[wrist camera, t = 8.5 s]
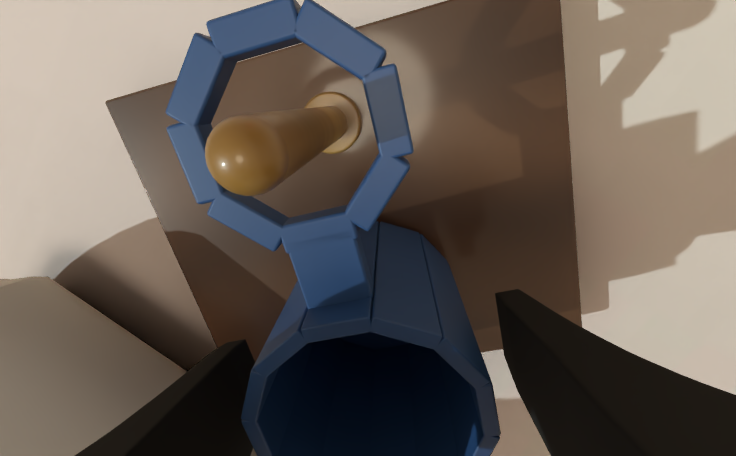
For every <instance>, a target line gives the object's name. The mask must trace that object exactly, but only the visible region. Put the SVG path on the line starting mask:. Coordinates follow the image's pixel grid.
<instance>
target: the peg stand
mask: <svg viewBox="0 0 736 456" xmlns="http://www.w3.org/2000/svg"><path fill="white" fill-rule="evenodd" d="M355 29H356V30H358V31H359V32H361V33H362V34H364V35H365V36H367V37H368V38H370V39H371V40H373V41H374V42H376V43H377V44H379V45H381V46H382V47H384V48H385V50H386V59H385V60H384V62H383V64H382V66H385V65H388V64H395V65H396V66H397V70H398V75H399V80H400V85H401V90H402V95H403V100H404V105H405V110H406V114H407V119H408V124H409V129H410V134H411V139H412V144H413V149H414V151H413V153H412V154H409V155H405V156H403V157H404V158H406V159H407V160H408V161H409V163H410V169H409V171H408V173H407V174H406V176H405V177H404V179H403V180H402V182H401V183H400V185H399V186H398V188H397V190H396V191H395V193H394V194H393V196H392V197H391V199H390V200H389V202H388V203H387V205H386V207H385V208H384V210H383V211H382V213H381V214H380V216H379V217H378V219H377V220H376V221H378V222H379V223H380V222H381V221H382V222H385V223H388V224H392V225H395V226H399V227H402V228H406V229H409V230H413V231H416V232H419V235H420V234H422V235H423V236H424V237H425V238H426V239H427V240H428V241H429V242H430V243H431V244H432V245H433V246H434V247H435V248H436V249H437V250H438V251H439V253H440V254H441V255H442V256H443V257H444V258H445V259H446V260H447V262H448V263H449V266H450V269H451V271H452V274H453V277H454V280H455V282H456V285H457V288H458V291H459V294H460V296H461V299H462V302H463V305H464V307H465V310H466V313H467V316H468V318H469V321H470V324H471V327H472V329H473V332H474V335H475V338H476V341H477V343H478V346H479V349H480V352H486V351H493V350H499V349H503V343H502V337H501V330H500V324H499V317H498V311H497V304H496V298H495V293H498V292H504V291H509V290H515V289H519V290H521V291H523V292H524V293H526V294H527V295H529V296H531V297H532V298H534V299H535V300H537V301H538V302H540V303H542V304H543V305H545V306H546V307H548V308H550V309H551V310H553V311H554V312H556V313H558V314H559V315H561V316H563V317H564V318H566V319H568V320H570V321H571V322H573V323H575V324H576V325H578V326H580V327H582V321H581V306H580V291H579V276H578V261H577V246H576V231H575V216H574V201H573V186H572V170H571V155H570V140H569V125H568V110H567V95H566V80H565V65H564V50H563V35H562V20H561V5H560V0H447V1H444V2H440V3H437V4H434V5H430V6H427V7H423V8H420V9H417V10H413V11H410V12H407V13H403V14H400V15H396V16H393V17H390V18H386V19H383V20H379V21H376V22H373V23H369V24H366V25H362V26H359V27H356V28H355ZM176 81H177V80H175V81H172V82H169V83H165V84H162V85H158V86H155V87H152V88H148V89H145V90H141V91H138V92H135V93H131V94H128V95H124V96H121V97H118V98H114V99H111V100H107V101H106V105H107V107H108V109H109V112H110V114H111V116H112V118H113V120H114V123H115V125H116V127H117V129H118V131H119V133H120V136H121V138H122V140H123V142H124V144H125V147H126V149H127V151H128V153H129V155H130V158H131V160H132V162H133V164H134V166H135V168H136V171H137V173H138V175H139V177H140V179H141V182H142V184H143V186H144V188H145V190H146V193H147V195H148V197H149V199H150V201H151V203H152V206H153V208H154V210H155V212H156V214H157V217H158V219H159V221H160V223H161V225H162V228H163V230H164V232H165V234H166V236H167V238H168V241H169V243H170V245H171V247H172V249H173V252H174V254H175V256H176V258H177V260H178V263H179V265H180V267H181V269H182V271H183V273H184V276H185V278H186V280H187V282H188V284H189V287H190V289H191V291H192V293H193V295H194V298H195V300H196V302H197V304H198V306H199V308H200V311H201V313H202V315H203V317H204V319H205V322H206V324H207V326H208V328H209V330H210V332H211V335H212V337H213V339H214V341H215V343H216V346H217V348H219V347H220V346H222V345H223V344H225V343H227V342H232V341H237V340H243V339H246V342H247V344H248V346H249V349H250V351H251V354H252V356H253V358H254V361H255V362H256V360H257V358H258V356H259V354H260V352H261V351H262V349H263V347H264V345H265V343H266V341H267V339H268V337H269V335H270V333H271V331H272V329H273V327H274V325H275V323H276V321H277V319H278V317H279V315H280V314H281V312H282V310H283V308H284V306H285V304H286V302H287V300H288V298H289V296H290V294H291V292H292V290H293V288H294V286H295V284H296V282H297V280H298V279H297V276H296V273H295V270H294V267H293V264H292V261H291V259H290V256H289V254H288V253H286V251H285V249H284V246H283V243H282V244H281V245H280V246H279V248H278V249H277V250H276V251H271V250H269V249H267V248H266V247H264V246H262V245H260V244H258V243H257V242H255V241H253V240H251V239H249V238H247V237H246V236H244V235H242V234H240V233H238V232H237V231H235V230H233V229H231V228H229V227H228V226H226V225H224V224H222V223H220V222H219V221H217V220H215V219H213V218H211V217H210V216H208V215H207V212H208V209H209V207H210V205H211V203H212V202H210V203H205V204H198V203H197V202H196V200H195V197H194V195H193V193H192V190H191V188H190V185H189V183H188V181H187V178H186V176H185V173H184V171H183V169H182V166H181V164H180V161H179V159H178V156H177V154H176V152H175V149H174V147H173V144H172V142H171V140H170V137H169V135H168V132H167V127H168V126H169V125H172V124H176V123H180V122H179V121H177V120H175V119H173V118H172V117H170V116H168V115H167V114H166V108H167V106H168V103H169V100H170V98H171V95H172V92H173V89H174V87H175V84H176ZM211 125H212V128H213V130H212V131H211V133H210V135H209V136H208V139H207V142H206V146H205V159H206V164H207V167H208V169H209V171H210V173H211V175H212V176H213V178H214V179H215V180H216V181H217V182H218V183H219V184H220V185H221V186H222V187H223V188H225V189H227V190H228V191H230V192H232V193H235V194H238V195H243V196H252V197H254V198H256V199H257V200H259V201H261V202H263V203H264V204H266V205H268V206H270V207H271V208H273V209H275V210H277V211H278V212H280V213H282V214H284V215H285V216H287V217H289V218H291V217H295V216H299V215H304V214H308V213H313V212H317V211H321V210H326V209H330V208H335V207H339V206H343V205H348V203H349V201H350V200H351V198H352V196H353V195H354V193H355V191H356V190H357V188H358V187H359V185H360V183H361V182H362V180H363V178H364V177H365V175H366V173H367V172H368V170H369V168H370V167H371V165H372V163H373V162H374V160H375V158H376V157H377V155H378V153H379V150H378V146H377V141H376V137H375V133H374V129H373V124H372V120H371V116H370V112H369V107H368V103H367V99H366V95H365V91H364V86H363V82H362V80H360V79H359V78H357V77H356V76H354V75H353V74H351V73H350V72H348V71H346V70H345V69H343V68H342V67H340V66H339V65H337V64H336V63H334V62H332V61H331V60H329V59H328V58H326V57H325V56H323V55H322V54H320V53H318V52H317V51H315V50H314V49H312V48H311V47H309V46H308V45H306V44H305V43H301V44H298V45H294V46H291V47H288V48H284V49H281V50H277V51H274V52H271V53H267V54H264V55H260V56H257V57H254V58H250V59H247V60H243V61H240V62H237V63H236V65H235V68H234V70H233V72H232V75H231V77H230V80H229V82H228V84H227V87H226V89H225V91H224V94H223V96H222V99H221V101H220V103H219V106H218V108H217V110H216V113H215V115H214V117H213V120H212V122H211Z"/></svg>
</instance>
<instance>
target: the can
mask: <svg viewBox="0 0 736 456" xmlns="http://www.w3.org/2000/svg"><path fill="white" fill-rule="evenodd" d="M186 372H187V371H186V370H184V369H183V368H181V367H180V366H178V365H177V364H175V363H174V362H172V361H171V360H169V359H168V358H166V357H165V356H163V355H162V354H161V353H159V352H158V351H156V350H155V349H153V348H152V347H150V346H149V345H147V344H146V343H144V342H143V341H141V340H140V339H139V338H137V337H136V336H134V335H133V334H131V333H130V332H128V331H127V330H125V329H124V328H122V327H121V326H119V325H118V324H117V323H115V322H114V321H112V320H111V319H109V318H108V317H106V316H105V315H103V314H102V313H100V312H99V311H97V310H96V309H95V308H93V307H92V306H90V305H89V304H87V303H86V302H84V301H83V300H81V299H80V298H78V297H77V296H75V295H74V294H73V293H71V292H70V291H68V290H67V289H65V288H64V287H62V286H61V285H59V284H58V283H56V282H55V281H53V280H52V279H50V278H49V277H27V278H19V279H11V280H10V279H0V456H75V455H76V454H78V453H79V452H81V451H82V450H84V449H85V448H87V447H88V446H89V445H91V444H92V443H94V442H95V441H97V440H98V439H100V438H101V437H103V436H104V435H105V434H107V433H108V432H110V431H111V430H113V429H114V428H115V427H117V426H118V425H119V424H121V423H122V422H123V421H125V420H126V419H127V418H129V417H130V416H131V415H133V414H134V413H135V412H137V411H138V410H139V409H140V408H142V407H143V406H144V405H146V404H147V403H148V402H150V401H151V400H152V399H154V398H155V397H156V396H158V395H159V394H160V393H161V392H163V391H164V390H165V389H166V388H168V387H169V386H170V385H171V384H173V383H174V382H175V381H176V380H178V379H179V378H180V377H181V376H183V375H184V374H185V373H186ZM250 456H257V455H256V452H255V450H254V448H253V450H252V453H251V455H250Z"/></svg>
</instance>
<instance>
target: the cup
mask: <svg viewBox="0 0 736 456" xmlns="http://www.w3.org/2000/svg"><path fill="white" fill-rule="evenodd" d="M207 28H208V31H209V34H210V37H209V36H206V35H203V34H200V33H195V34H194V36H193V39H192V41H191V44H190V47H189V49H188V52H187V55H186V57H185V60H184V63H183V65H182V68H181V71H180V73H179V76H178V79H177V81H176V84H175V87H174V89H173V92H172V95H171V98H170V100H169V103H168V106H167V108H166V114H167V115H168V116H170V117H172V118H173V119H175V120H177V121H179V122H180V123H176V124H172V125H169V126H168V127H167V132H168V135H169V137H170V140H171V142H172V144H173V147H174V149H175V152H176V154H177V156H178V159H179V161H180V164H181V166H182V169H183V171H184V173H185V176H186V178H187V181H188V183H189V185H190V188H191V190H192V193H193V195H194V197H195V200H196V202H197V203H198V204H205V203H210V202H212V203H211V205H210V207H209V209H208V212H207V215H208V216H210V217H211V218H213V219H215V220H217V221H219V222H220V223H222V224H224V225H226V226H228V227H229V228H231V229H233V230H235V231H237V232H238V233H240V234H242V235H244V236H246V237H247V238H249V239H251V240H253V241H255V242H257V243H258V244H260V245H262V246H264V247H266V248H267V249H269V250H271V251H276V250H277V249H278V248H279V246H280V245H281V244H282V243H283V246H284V249H285V251H286V253H288V254H289V256H290V259H291V261H292V264H293V267H294V270H295V273H296V276H297V279H298V280H297V282H296V284H295V286H294V288H293V290H292V292H291V294H290V296H289V298H288V300H287V302H286V304H285V306H284V308H283V310H282V312H281V314H280V315H279V317H278V319H277V321H276V323H275V325H274V327H273V329H272V331H271V333H270V335H269V337H268V339H267V341H266V343H265V345H264V347H263V349H262V351H261V352H260V354H259V356H258V358H257V360H256V362H255V364H254V366H253V368H252V370H251V373H250V378H249V382H248V387H247V392H246V396H245V401H244V406H243V410H242V415H241V419H242V425H243V427H244V429H245V431H246V433H247V435H248V438H249V440H250V442H251V444H252V446H253V448H254V450H255V452H256V455H257V456H490V455H491V453H492V452H493V450H494V448H495V446H496V445H497V443H498V441H499V439H500V436H499V435H500V434H501V432H500V426H499V420H498V414H497V409H496V403H495V397H494V391H493V385H492V382H491V379H490V377H489V374H488V371H487V368H486V365H485V363H484V360H483V357H482V354H481V352H480V349H479V346H478V343H477V341H476V338H475V335H474V332H473V329H472V327H471V324H470V321H469V318H468V316H467V313H466V310H465V307H464V305H463V302H462V299H461V296H460V294H459V291H458V288H457V285H456V282H455V280H454V277H453V274H452V271H451V269H450V266H449V263H448V262H447V260H446V259H445V258H444V257H443V256H442V255H441V254H440V253H439V251H438V250H437V249H436V248H435V247H434V246H433V245H432V244H431V243H430V242H429V241H428V240H427V239H426V238H425V237H424V236H423V235H422V234H420V235H419V232H416V231H413V230H409V229H406V228H402V227H399V226H395V225H392V224H388V223H385V222H382V221H381V222H380V223H379V222H378V221H376V220H377V219H378V217H379V216H380V214H381V213H382V211H383V210H384V208H385V207H386V205H387V203H388V202H389V200H390V199H391V197H392V196H393V194H394V193H395V191H396V190H397V188H398V186H399V185H400V183H401V182H402V180H403V179H404V177H405V176H406V174H407V173H408V171H409V169H410V163H409V161H408V160H407V159H406V158H404V157H403V156H405V155H409V154H412V153H413V151H414V149H413V144H412V139H411V134H410V129H409V124H408V119H407V114H406V110H405V105H404V100H403V95H402V90H401V85H400V80H399V75H398V70H397V66H396V65H395V64H388V65H385V66H382V64H383V62H384V60H385V59H386V50H385V48H384V47H382V46H381V45H379V44H377V43H376V42H374V41H373V40H371V39H370V38H368V37H367V36H365V35H364V34H362V33H361V32H359V31H358V30H356V29H355V28H353V27H352V26H350V25H349V24H347V23H346V22H344V21H343V20H341V19H340V18H338V17H337V16H335V15H334V14H332V13H331V12H329V11H328V10H326V9H325V8H323V7H322V6H320V5H319V4H317V3H316V2H314V1H313V0H304V2H303V5H302V7H301V6H300V5H299V4H298V2H297V1H296V0H272V1H269V2H266V3H263V4H260V5H257V6H253V7H250V8H247V9H244V10H241V11H238V12H234V13H231V14H228V15H225V16H222V17H219V18H215V19H212V20H209V21H208V22H207ZM302 42H303V43H305V44H306V45H308V46H309V47H311V48H312V49H314V50H315V51H317V52H318V53H320V54H322V55H323V56H325V57H326V58H328V59H329V60H331V61H332V62H334V63H336V64H337V65H339V66H340V67H342V68H343V69H345V70H346V71H348V72H350V73H351V74H353V75H354V76H356V77H357V78H359V79H360V80H362V82H363V86H364V91H365V95H366V99H367V103H368V107H369V112H370V116H371V120H372V124H373V129H374V133H375V137H376V141H377V146H378V150H379V153H378V155H377V157H376V158H375V160H374V162H373V163H372V165H371V167H370V168H369V170H368V172H367V173H366V175H365V177H364V178H363V180H362V182H361V183H360V185H359V187H358V188H357V190H356V191H355V193H354V195H353V196H352V198H351V200H350V201H349V203H348V205H343V206H339V207H335V208H330V209H326V210H321V211H317V212H313V213H308V214H304V215H299V216H295V217H291V218H289V217H287V216H285V215H284V214H282V213H280V212H278V211H277V210H275V209H273V208H271V207H270V206H268V205H266V204H264V203H263V202H261V201H259V200H257V199H256V198H254V197H252V196H243V195H238V194H235V193H232V192H230V191H228V190H227V189H225V188H223V187H222V186H221V185H220V184H219V183H218V182H217V181H216V180H215V179H214V178H213V176H212V175H211V173H210V171H209V169H208V167H207V164H206V159H205V146H206V142H207V139H208V136H209V135H210V133H211V131H212V130H213V128H212V125H211V122H212V120H213V117H214V115H215V113H216V110H217V108H218V106H219V103H220V101H221V99H222V96H223V94H224V91H225V89H226V87H227V84H228V82H229V80H230V77H231V75H232V72H233V70H234V68H235V65H236V63H237V62H238V61H241V60H245V59H248V58H251V57H255V56H258V55H262V54H265V53H268V52H272V51H275V50H278V49H282V48H285V47H289V46H292V45H295V44H299V43H302Z"/></svg>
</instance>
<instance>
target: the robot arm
mask: <svg viewBox="0 0 736 456" xmlns="http://www.w3.org/2000/svg"><path fill="white" fill-rule="evenodd" d="M495 298H496V304H497V311H498V317H499V324H500V330H501V337H502V343H503V350H504V356H505V359H506V361H507V364H508V367H509V369H510V372H511V375H512V377H513V380H514V382H515V385H516V388H517V390H518V392H519V394H520V396H521V398H522V400H523V402H524V404H525V406H526V408H527V410H528V412H529V414H530V416H531V418H532V420H533V422H534V424H535V425H536V427H537V429H538V431H539V433H540V435H541V437H542V439H543V441H544V443H545V445H546V447H547V449H548V451H549V452H550V454H551V456H736V395H734V394H731V393H728V392H725V391H723V390H720V389H717V388H714V387H712V386H709V385H706V384H703V383H701V382H698V381H696V380H693V379H691V378H688V377H685V376H683V375H680V374H678V373H676V372H673V371H671V370H669V369H666V368H664V367H662V366H659V365H657V364H655V363H652V362H650V361H648V360H645V359H643V358H641V357H639V356H637V355H634V354H632V353H630V352H628V351H626V350H624V349H622V348H620V347H618V346H616V345H614V344H612V343H610V342H608V341H606V340H604V339H602V338H600V337H598V336H596V335H594V334H593V333H591V332H589V331H587V330H585V329H584V328H582V327H580V326H578V325H576V324H575V323H573V322H571V321H570V320H568V319H566V318H564V317H563V316H561V315H559V314H558V313H556V312H554V311H553V310H551V309H550V308H548V307H546V306H545V305H543V304H542V303H540V302H538V301H537V300H535V299H534V298H532V297H531V296H529V295H527V294H526V293H524V292H523V291H521V290H519V289H515V290H509V291H504V292H498V293H495ZM254 364H255V361H254V358H253V356H252V354H251V351H250V349H249V346H248V344H247V342H246V339H243V340H237V341H232V342H227V343H225V344H223V345H222V346H220V347H219V348H217V349H216V350H215V351H213V352H212V353H210V354H209V355H208V356H207V357H205V358H204V359H203V360H201V361H200V362H199V363H198V364H196V365H195V366H194V367H193V368H191V369H190V370H189V371H188V372H186V373H185V374H184V375H183V376H181V377H180V378H179V379H178V380H176V381H175V382H174V383H173V384H171V385H170V386H169V387H168V388H166V389H165V390H164V391H163V392H161V393H160V394H159V395H158V396H156V397H155V398H154V399H152V400H151V401H150V402H148V403H147V404H146V405H144V406H143V407H142V408H140V409H139V410H138V411H137V412H135V413H134V414H133V415H131V416H130V417H129V418H127V419H126V420H125V421H123V422H122V423H121V424H119V425H118V426H117V427H115V428H114V429H113V430H111V431H110V432H108V433H107V434H105V435H104V436H103V437H101V438H100V439H98V440H97V441H95V442H94V443H92V444H91V445H89V446H88V447H87V448H85V449H84V450H82V451H81V452H79V453H78V454H76V455H75V456H250V455H251V453H252V450H253V446H252V444H251V442H250V440H249V438H248V435H247V433H246V431H245V429H244V427H243V425H242V419H241V415H242V410H243V406H244V401H245V396H246V392H247V387H248V382H249V378H250V373H251V370H252V368H253V366H254Z"/></svg>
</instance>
